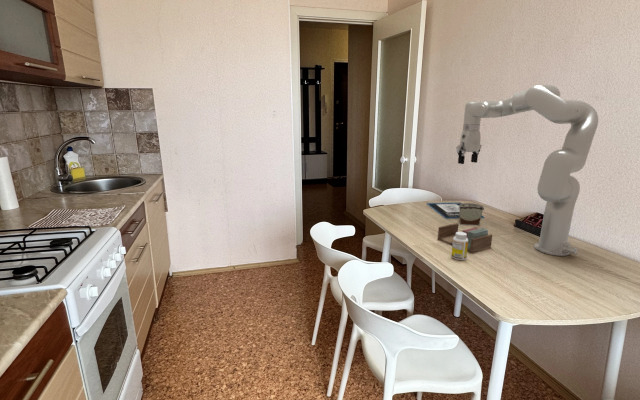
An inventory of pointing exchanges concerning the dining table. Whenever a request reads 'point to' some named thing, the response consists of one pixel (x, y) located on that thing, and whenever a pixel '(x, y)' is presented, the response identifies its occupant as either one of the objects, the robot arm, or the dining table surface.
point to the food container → (470, 214)
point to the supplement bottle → (460, 246)
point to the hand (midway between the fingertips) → (467, 163)
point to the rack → (475, 236)
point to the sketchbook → (447, 209)
